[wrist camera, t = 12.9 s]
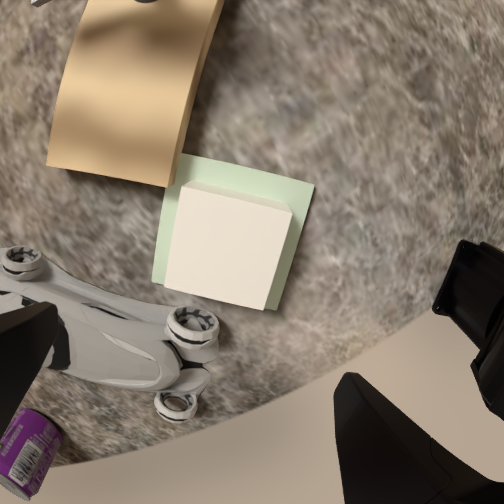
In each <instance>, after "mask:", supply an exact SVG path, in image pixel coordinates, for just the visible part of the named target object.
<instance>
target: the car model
mask: <svg viewBox="0 0 504 504" xmlns="http://www.w3.org/2000/svg"><path fill="white" fill-rule="evenodd" d="M43 301H48V302H50V303H53V304H55V305H56V306H57V308H58V317H59V332H58V335H57V337H56V339H55V341H54V343H53V345H52V347H51V349H50V351H49V353H48V355H47V357H46V359H45V361H44V363H43V365H42V367H44V368H50V369H54V370H59V371H62V372H64V373H67V374H70V375H73V376H75V377H78V378H81V379H84V380H88V381H91V382H95V383H99V384H102V385H106V386H112V387H117V388H123V389H129V390H137V391H148V392H156V393H157V395H156V397H155V401H154V405H155V407H156V410H157V412H158V414H159V415H160V416H161V417H162V418H163V419H164V420H167V421H169V422H172V423H183V422H186V421H189V420H190V419H191V418H192V417H193V416H194V415H195V413H196V410H197V398H198V395H199V394H200V393H201V392H202V391H203V389H204V388H205V387H206V386H207V385H208V383H209V382H210V380H211V375H212V373H210V372H209V371H207V370H206V369H205V368H203V367H202V366H201V364H202V363H207V362H209V361H212V360H215V359H216V358H217V355H218V353H219V341H218V334H219V332H220V331H219V329H220V326H219V322H218V319H217V318H216V316H215V315H214V314H213V313H211V312H208V311H202V310H197V309H194V308H192V307H190V306H187V305H181V306H165V305H157V304H150V303H145V302H141V301H137V300H133V299H130V298H127V297H124V296H121V295H118V294H115V293H111V292H108V291H106V290H103V289H101V288H99V287H96V286H94V285H92V284H89V283H87V282H85V281H83V280H80V279H78V278H76V277H74V276H71V275H70V274H69V273H67V272H66V271H64V270H63V269H62V268H60V267H59V266H58V265H56V264H55V263H53V262H52V261H51V260H49V259H48V258H46V257H45V256H44V255H43V254H42V253H41V252H40V251H36V250H32V249H30V248H28V247H27V246H14V247H11V248H0V314H2V313H6V312H9V311H12V310H16V309H19V308H23V307H26V306H30V305H33V304H37V303H40V302H43ZM185 322H186V323H185ZM201 326H202V327H203V328H205V330H203V329H202V327H201ZM42 367H41V368H42ZM170 397H176V398H179V399H181V400H183V401H184V402H185V403H186V404H187V406H188V407H187V408H186V409H184V410H181V411H176V410H172V409H170V408H168V407H167V406H166V405H165V403H164V401H165V399H167V398H170Z"/></svg>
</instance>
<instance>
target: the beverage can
mask: <svg viewBox="0 0 504 504" xmlns="http://www.w3.org/2000/svg"><path fill="white" fill-rule="evenodd" d="M62 441H63V439H62V436H61V434H60V433H59V431H58V430H57V429H56V427H55V426H54V425H53V423H52V422H51V421H50V420H48V419H47V418H46V417H45V416H43V415H42V414H40V413H38V412H36V411H32V410H30V409H27V408H22V409H20V411H19V412H18V414H17V415H16V417H15V418H14V420H13V421H12V423H11V424H10V426H9V427H8V429H7V430H6V432H5V433H4V435H3V437H2V439H1V441H0V484H1V485H2V486H3V487H5V488H6V489H7V490H9V491H10V492H12V493H13V494H15V495H16V496H18V497H20V498H22V499H24V500H26V501H30V497H32V496H33V495H35V494H37V493H38V491H39V489H40V487H41V484H42V482H43V480H44V478H45V476H46V474H47V472H48V470H49V468H50V465H51V463H52V461H53V459H54V457H55V455H56V453H57V451H58V449H59V447H60V445H61V443H62Z"/></svg>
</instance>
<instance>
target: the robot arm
mask: <svg viewBox="0 0 504 504" xmlns="http://www.w3.org/2000/svg"><path fill="white" fill-rule="evenodd" d="M464 245H465V246H464ZM463 246H464V248H463ZM438 307H439V308H438ZM437 308H438V309H437ZM432 311H433V312H434V313H435V314H438V315H443V316H448V317H450V318H451V319H452V320H453V321H454V322H455V323H456V324H457V325H458V327H459V328H460V329H461V330H462V331H463V332H464V333H465V334H466V335H467V336H468V337H469V338H470V339H471V341H472V342H474V344H475V345H476V346H477V347H478V348H479V349H480V351H479V353H478V355H477V356H476V358H475V359H474V360H473V361H472V363H471V365H470V367H471V369H472V371H473V374H474V377H475V379H476V382H477V384H478V387H479V391H480V393H481V395H482V398H483V400H484V403H485V405H486V407H487V408H488V409H489V411H491V412H492V413H494V414H495V415H497V416H498V417H500V418H501V419H502V420H503V421H504V251H502V250H501V249H499V248H497V247H495V246H492V245H490V244H488V243H485V242H481V243H480V245H477V244H474V243H472V242H469V241H467V240H464V239H463V240H461V241H460V242H459V244H458V247H457V250H456V252H455V255H454V257H453V260H452V263H451V265H450V268H449V270H448V272H447V275H446V277H445V280H444V282H443V284H442V287H441V289H440V291H439V293H438V295H437V298H436V300H435V302H434V304H433V306H432ZM58 332H59V317H58V308H57V306H56V305H55V304H53V303H50V302H48V301H43V302H40V303H37V304H33V305H30V306H26V307H23V308H19V309H16V310H12V311H9V312H6V313H2V314H0V441H1V439H2V437H3V435H4V433H5V431H6V429H7V427H8V425H9V423H10V421H11V419H12V417H13V416H14V414H15V412H16V410H17V408H18V407H19V405H20V403H21V401H22V399H23V398H24V396H25V394H26V393H27V391H28V389H29V387H30V386H31V384H32V382H33V381H34V379H35V377H36V376H37V374H38V372H39V371H40V369H41V367H42V365H43V363H44V361H45V359H46V357H47V355H48V353H49V351H50V349H51V347H52V345H53V343H54V341H55V339H56V337H57V335H58ZM334 417H335V438H336V445H337V452H338V458H339V465H340V471H341V479H342V486H343V494H344V501H345V504H504V482H496V481H492V480H490V479H488V478H486V477H484V476H483V475H482V474H480V473H479V472H477V471H476V470H474V469H472V468H471V467H470V466H468V465H467V464H465V463H464V462H462V461H461V460H460V459H458V458H457V457H456V456H454V455H453V454H452V453H450V452H449V451H448V450H446V449H445V448H444V447H443V446H442V445H440V444H439V443H438V442H437V441H436V440H434V439H433V438H431V437H430V435H429V434H427V433H426V432H425V431H424V430H423V429H422V428H420V427H419V426H418V425H417V424H416V423H414V422H413V421H412V420H411V419H410V418H409V417H408V416H406V415H405V414H404V413H403V412H402V411H401V410H400V409H398V408H397V407H396V406H395V405H394V404H393V403H392V402H390V401H389V400H388V399H387V398H386V397H385V396H384V395H382V394H381V393H380V392H379V391H378V390H377V389H376V388H374V387H373V386H372V385H371V384H370V383H369V382H368V381H366V380H365V379H364V378H363V377H362V376H361V375H360V374H358V373H353V372H346V373H345V374H344V375H343V377H342V379H341V380H340V382H339V384H338V386H337V388H336V389H335V392H334Z"/></svg>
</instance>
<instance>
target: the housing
mask: <svg viewBox="0 0 504 504" xmlns="http://www.w3.org/2000/svg"><path fill="white" fill-rule="evenodd" d="M224 2H225V0H89V1H88V3H87V6H86V8H85V11H84V13H83V16H82V18H81V21H80V24H79V26H78V29H77V32H76V35H75V38H74V41H73V44H72V47H71V50H70V53H69V57H68V60H67V63H66V67H65V70H64V74H63V78H62V82H61V86H60V90H59V94H58V98H57V103H56V108H55V113H54V118H53V123H52V129H51V135H50V141H49V148H48V156H47V164H46V166H53V167H59V168H65V169H71V170H77V171H83V172H88V173H94V174H100V175H105V176H110V177H116V178H121V179H126V180H131V181H137V182H142V183H147V184H152V185H157V186H161V187H166V188H168V187H170V186H172V185H173V184H174V182H175V177H176V172H177V167H178V162H179V157H180V153H182V150H183V145H184V141H185V137H186V132H187V128H188V124H189V120H190V116H191V112H192V108H193V104H194V100H195V96H196V92H197V89H198V85H199V81H200V78H201V74H202V71H203V67H204V64H205V60H206V57H207V54H208V50H209V47H210V44H211V41H212V37H213V34H214V31H215V28H216V25H217V22H218V19H219V16H220V13H221V10H222V7H223V4H224Z"/></svg>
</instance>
